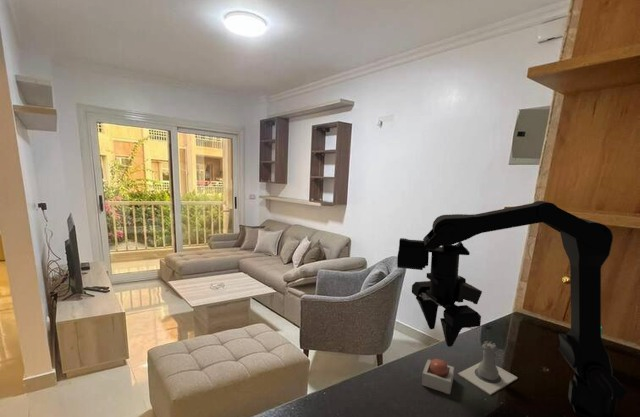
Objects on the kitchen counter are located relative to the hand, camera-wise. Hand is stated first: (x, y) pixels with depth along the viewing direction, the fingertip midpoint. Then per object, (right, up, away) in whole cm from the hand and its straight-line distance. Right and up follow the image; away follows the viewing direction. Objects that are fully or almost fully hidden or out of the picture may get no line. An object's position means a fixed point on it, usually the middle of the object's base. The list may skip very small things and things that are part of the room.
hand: (440, 337), depth 71 cm
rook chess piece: (+13, -11, +3) cm, 17 cm away
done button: (0, -9, +1) cm, 9 cm away
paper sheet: (+13, -11, +3) cm, 17 cm away
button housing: (0, -11, +1) cm, 11 cm away
